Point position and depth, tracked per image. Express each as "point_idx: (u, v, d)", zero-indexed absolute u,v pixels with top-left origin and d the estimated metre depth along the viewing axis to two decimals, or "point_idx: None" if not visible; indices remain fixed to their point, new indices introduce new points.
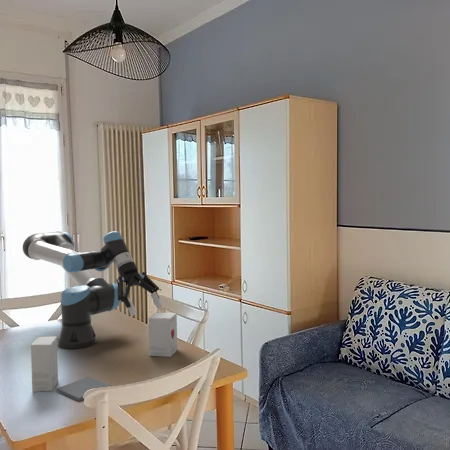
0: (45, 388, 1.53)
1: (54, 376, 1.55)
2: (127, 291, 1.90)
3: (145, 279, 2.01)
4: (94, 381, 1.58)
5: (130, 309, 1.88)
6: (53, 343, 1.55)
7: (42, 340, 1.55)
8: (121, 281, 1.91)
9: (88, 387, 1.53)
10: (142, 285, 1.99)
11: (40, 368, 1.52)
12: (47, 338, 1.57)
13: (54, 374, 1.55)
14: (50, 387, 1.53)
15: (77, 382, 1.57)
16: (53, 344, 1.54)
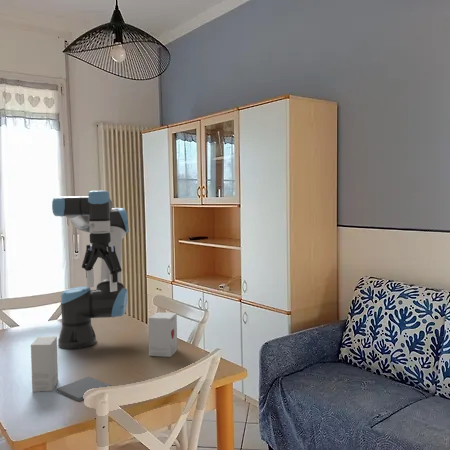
0: (45, 388, 1.53)
1: (54, 376, 1.55)
2: (88, 263, 1.82)
3: None
4: (94, 381, 1.58)
5: None
6: (53, 343, 1.55)
7: (42, 340, 1.55)
8: (87, 251, 1.82)
9: (88, 387, 1.53)
10: None
11: (40, 368, 1.52)
12: (47, 338, 1.57)
13: (54, 374, 1.55)
14: (50, 387, 1.53)
15: (77, 382, 1.57)
16: (53, 344, 1.54)
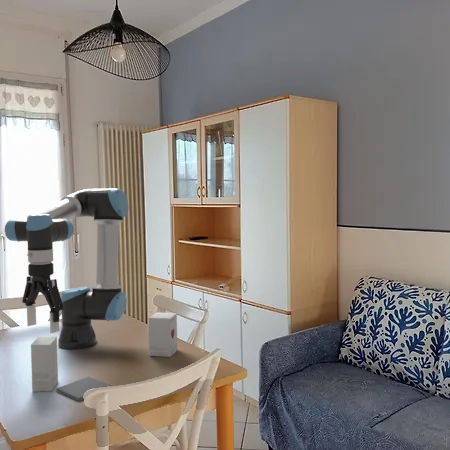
0: (45, 388, 1.53)
1: (54, 376, 1.55)
2: (28, 298, 1.57)
3: None
4: (94, 381, 1.58)
5: None
6: (53, 343, 1.55)
7: (42, 340, 1.55)
8: (27, 284, 1.57)
9: (88, 387, 1.53)
10: None
11: (40, 368, 1.52)
12: (47, 338, 1.57)
13: (54, 374, 1.55)
14: (50, 387, 1.53)
15: (77, 382, 1.57)
16: (53, 344, 1.54)
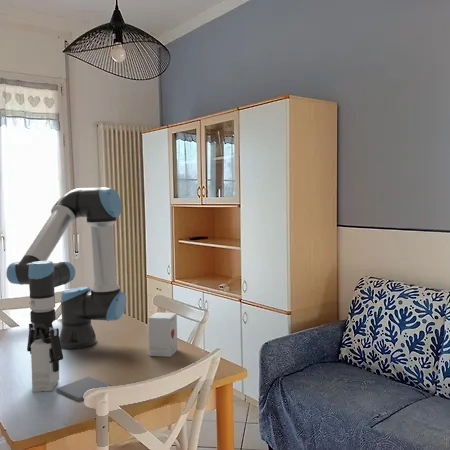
0: (45, 388, 1.52)
1: None
2: None
3: None
4: (94, 381, 1.58)
5: None
6: None
7: (42, 340, 1.55)
8: (30, 331, 1.58)
9: (88, 387, 1.53)
10: None
11: (40, 368, 1.52)
12: (47, 338, 1.57)
13: None
14: (50, 387, 1.53)
15: (77, 382, 1.57)
16: None
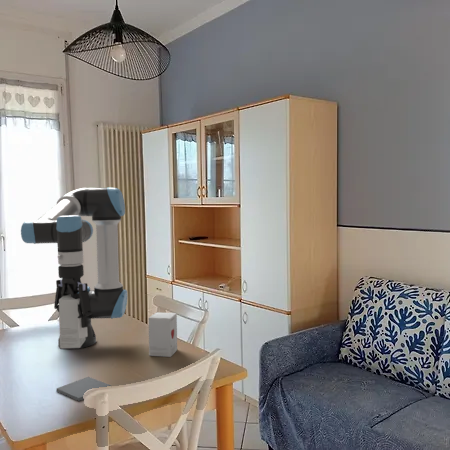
0: (73, 345, 1.49)
1: None
2: None
3: None
4: (94, 381, 1.58)
5: None
6: None
7: (70, 296, 1.52)
8: (57, 288, 1.55)
9: (88, 387, 1.53)
10: None
11: (68, 324, 1.48)
12: None
13: None
14: (78, 343, 1.49)
15: (77, 382, 1.57)
16: None
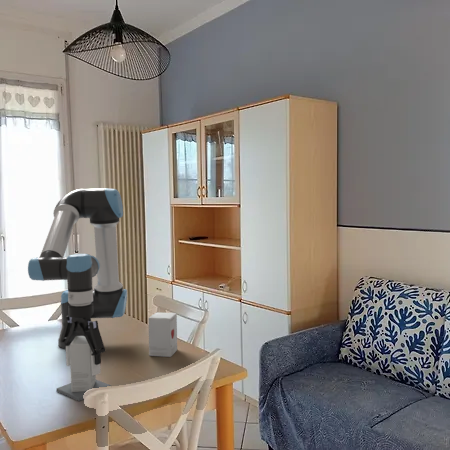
0: (84, 388, 1.49)
1: (93, 376, 1.52)
2: (67, 338, 1.55)
3: None
4: None
5: None
6: None
7: (81, 339, 1.52)
8: (66, 323, 1.55)
9: None
10: None
11: (80, 368, 1.49)
12: None
13: None
14: (89, 387, 1.50)
15: None
16: None
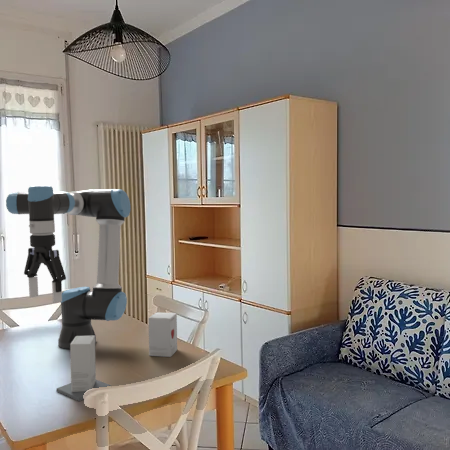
0: (84, 388, 1.49)
1: (93, 376, 1.52)
2: (30, 269, 1.58)
3: None
4: None
5: None
6: (92, 342, 1.51)
7: (81, 339, 1.52)
8: (29, 255, 1.58)
9: None
10: None
11: (80, 368, 1.49)
12: (85, 337, 1.54)
13: (93, 374, 1.52)
14: (89, 387, 1.50)
15: None
16: (92, 343, 1.51)
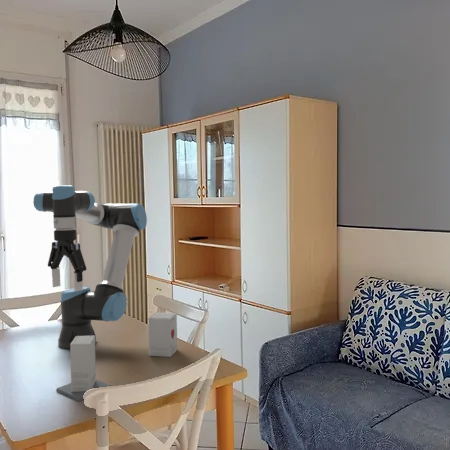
0: (84, 388, 1.49)
1: (93, 376, 1.52)
2: (53, 261, 1.74)
3: None
4: None
5: None
6: (92, 342, 1.51)
7: (81, 339, 1.52)
8: (52, 249, 1.74)
9: None
10: None
11: (80, 368, 1.49)
12: (85, 337, 1.54)
13: (93, 374, 1.52)
14: (89, 387, 1.50)
15: None
16: (92, 343, 1.51)
